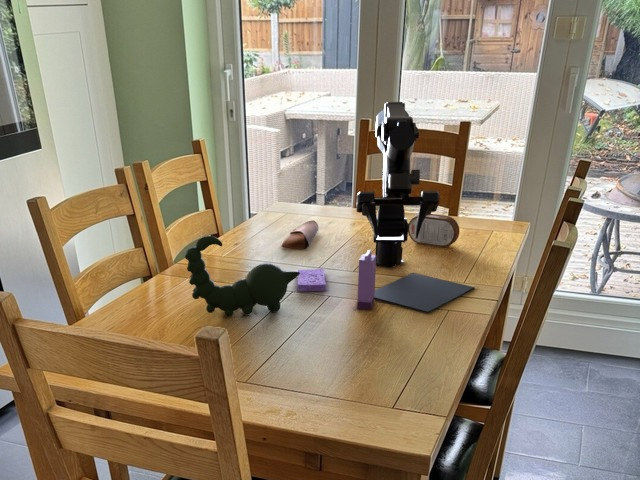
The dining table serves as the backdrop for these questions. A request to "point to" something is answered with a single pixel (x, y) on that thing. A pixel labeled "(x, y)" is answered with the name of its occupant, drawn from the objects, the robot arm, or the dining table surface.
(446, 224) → the tin
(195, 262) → the toy figurine
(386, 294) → the placemat
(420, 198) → the robot arm
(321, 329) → the dining table surface
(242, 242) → the dining table surface
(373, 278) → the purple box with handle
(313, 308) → the dining table surface
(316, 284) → the sponge
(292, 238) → the sunglasses case
